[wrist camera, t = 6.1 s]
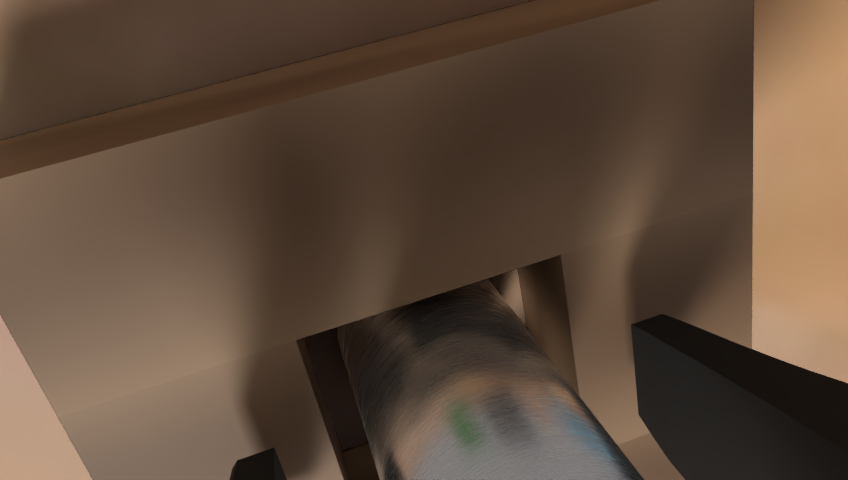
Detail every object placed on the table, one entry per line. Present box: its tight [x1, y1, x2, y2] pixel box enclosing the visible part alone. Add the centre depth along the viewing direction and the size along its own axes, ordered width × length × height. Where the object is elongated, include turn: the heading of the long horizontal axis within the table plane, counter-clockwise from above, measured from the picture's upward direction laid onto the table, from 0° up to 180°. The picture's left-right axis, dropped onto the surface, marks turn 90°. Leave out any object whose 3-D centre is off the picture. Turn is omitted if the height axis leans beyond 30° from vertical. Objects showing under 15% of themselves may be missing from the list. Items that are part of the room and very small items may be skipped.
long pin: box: [338, 278, 644, 480], centre depth 12 cm, size 3×3×7 cm
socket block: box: [0, 0, 754, 480], centre depth 14 cm, size 12×12×2 cm
